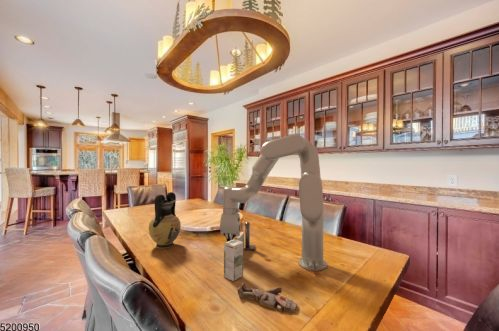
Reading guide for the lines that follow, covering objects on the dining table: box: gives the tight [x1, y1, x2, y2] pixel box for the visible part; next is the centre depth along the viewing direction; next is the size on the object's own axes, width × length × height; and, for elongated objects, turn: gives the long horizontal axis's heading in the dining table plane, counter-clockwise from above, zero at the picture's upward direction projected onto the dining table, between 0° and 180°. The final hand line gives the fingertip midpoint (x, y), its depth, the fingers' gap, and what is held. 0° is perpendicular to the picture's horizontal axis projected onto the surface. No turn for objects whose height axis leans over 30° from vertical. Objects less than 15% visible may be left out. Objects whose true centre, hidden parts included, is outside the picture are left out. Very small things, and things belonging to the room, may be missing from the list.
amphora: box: [148, 191, 182, 250], centre depth 128 cm, size 18×17×30 cm
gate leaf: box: [233, 231, 245, 249], centre depth 116 cm, size 2×19×8 cm, turn 165°
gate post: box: [244, 221, 256, 251], centre depth 123 cm, size 5×5×15 cm
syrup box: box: [223, 238, 244, 282], centre depth 93 cm, size 6×6×14 cm
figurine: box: [236, 282, 298, 314], centre depth 77 cm, size 7×5×20 cm
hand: (229, 246), depth 116 cm, fingers closed
